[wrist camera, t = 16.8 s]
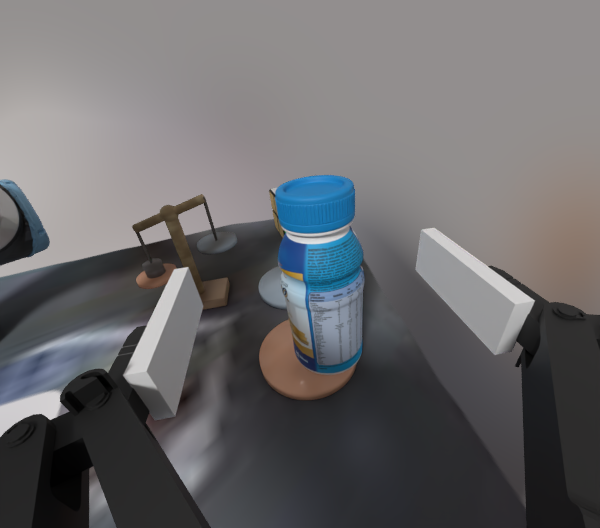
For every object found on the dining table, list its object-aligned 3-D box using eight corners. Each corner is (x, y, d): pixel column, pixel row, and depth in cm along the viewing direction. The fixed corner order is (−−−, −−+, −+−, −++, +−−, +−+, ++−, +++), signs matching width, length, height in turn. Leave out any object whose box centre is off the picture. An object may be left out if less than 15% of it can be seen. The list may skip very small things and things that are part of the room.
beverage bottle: (353, 389, 28) (348, 204, 18) (281, 366, 32) (243, 200, 21) (370, 332, 35) (375, 170, 24) (309, 318, 38) (290, 171, 28)
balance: (147, 319, 44) (91, 217, 35) (158, 296, 49) (112, 202, 40) (249, 301, 45) (221, 197, 36) (250, 280, 50) (225, 185, 41)
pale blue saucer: (260, 315, 42) (258, 309, 41) (259, 273, 52) (258, 268, 51) (337, 301, 42) (336, 295, 42) (321, 263, 52) (320, 257, 52)
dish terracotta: (261, 410, 29) (259, 403, 28) (260, 329, 39) (258, 323, 38) (371, 388, 29) (372, 381, 29) (342, 314, 40) (341, 308, 39)
